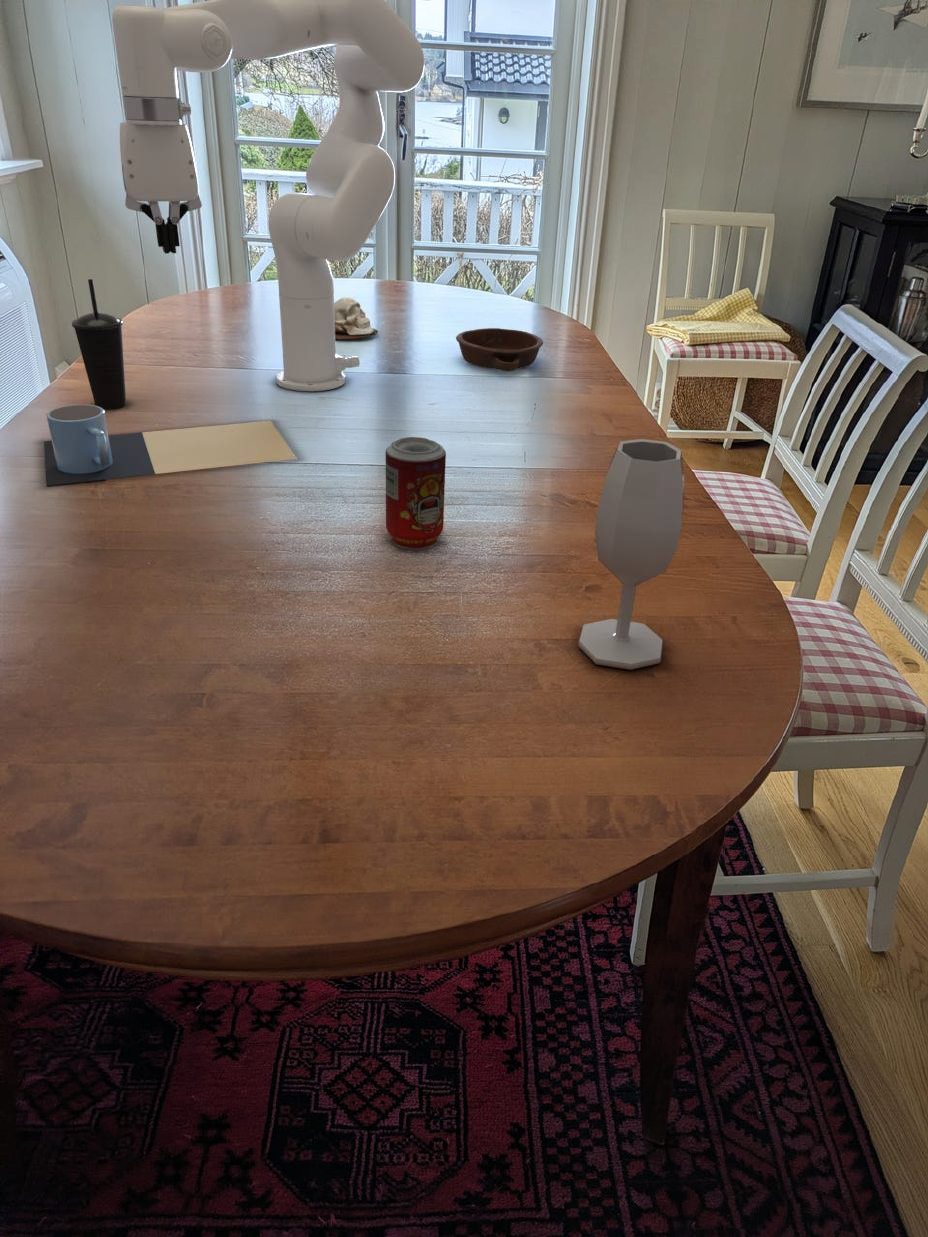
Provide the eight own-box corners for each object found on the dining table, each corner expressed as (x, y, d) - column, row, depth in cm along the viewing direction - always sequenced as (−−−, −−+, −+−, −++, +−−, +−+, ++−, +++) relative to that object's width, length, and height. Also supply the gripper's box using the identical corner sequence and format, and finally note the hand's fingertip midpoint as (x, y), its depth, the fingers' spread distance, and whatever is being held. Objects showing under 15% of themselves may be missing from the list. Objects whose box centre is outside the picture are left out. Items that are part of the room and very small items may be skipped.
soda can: (411, 557, 107) (411, 459, 101) (374, 537, 112) (372, 441, 105) (455, 541, 111) (458, 446, 105) (418, 522, 116) (419, 430, 110)
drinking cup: (120, 414, 148) (99, 285, 137) (77, 409, 149) (53, 282, 139) (143, 400, 154) (125, 276, 144) (102, 396, 155) (81, 273, 145)
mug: (47, 463, 128) (36, 411, 124) (97, 451, 133) (88, 400, 129) (83, 484, 122) (73, 430, 118) (134, 471, 126) (125, 419, 123)
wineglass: (569, 626, 95) (591, 433, 84) (650, 625, 96) (682, 433, 85) (586, 673, 88) (612, 467, 77) (674, 671, 88) (712, 468, 78)
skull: (391, 327, 201) (373, 297, 191) (371, 366, 199) (352, 337, 189) (348, 317, 206) (328, 287, 196) (327, 355, 203) (306, 326, 194)
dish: (461, 378, 173) (461, 351, 170) (450, 348, 192) (450, 324, 189) (550, 378, 175) (553, 352, 172) (531, 349, 194) (533, 325, 191)
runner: (270, 421, 147) (270, 420, 147) (297, 459, 133) (297, 458, 133) (44, 442, 135) (43, 441, 135) (46, 486, 121) (46, 485, 121)
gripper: (203, 112, 132) (216, 246, 142) (94, 109, 127) (115, 249, 136) (211, 114, 126) (224, 254, 136) (97, 111, 121) (119, 257, 131)
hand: (169, 251), depth 136 cm, fingers closed
